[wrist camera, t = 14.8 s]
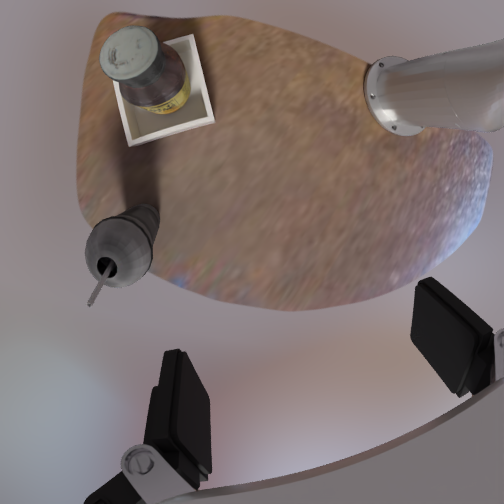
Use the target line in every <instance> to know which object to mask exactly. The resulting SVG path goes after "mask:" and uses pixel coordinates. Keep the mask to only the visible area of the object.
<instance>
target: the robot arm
mask: <svg viewBox="0 0 504 504" xmlns="http://www.w3.org/2000/svg"><path fill="white" fill-rule="evenodd" d="M364 93H365V99H366V102H367V105H368V108H369V110H370V112H371V114H372V115H373V117H374V118H375V120H376V121H377V122H378V123H379V124H380V125H381V126H382V127H383V128H385V129H386V130H387V131H389V132H391V133H393V134H396V135H400V136H412V135H415V134H418V133H419V132H421V131H422V130H424V128H425V127H437V128H449V129H460V130H469V131H477V132H495V131H497V130H500V129H501V128H503V127H504V39H501V40H498V41H494V42H491V43H487V44H482V45H478V46H473V47H468V48H463V49H458V50H453V51H448V52H443V53H439V54H434V55H430V56H426V57H423V58H418V59H414V60H411V61H408V60H406V59H403V58H401V57H396V56H389V57H384V58H381V59H379V60H377V61H376V62H375V63H373V64H372V65H371V67H370V68H369V69H368V72H367V74H366V76H365V82H364ZM370 96H371V97H370ZM492 331H493V329H492V328H491V327H490V326H489V325H488V324H487V323H486V322H485V321H484V320H483V319H482V318H480V317H479V316H478V315H477V314H476V313H475V312H474V311H472V310H471V309H470V308H469V307H468V306H467V305H466V304H464V303H463V302H462V301H461V300H459V299H458V298H457V297H456V296H455V295H454V294H453V293H451V292H450V291H449V290H448V289H447V288H445V287H444V286H443V285H441V284H440V283H439V282H438V281H437V280H435V279H434V278H432V277H428V278H425V279H423V280H420V281H419V282H418V285H417V286H416V287H415V297H414V308H413V318H412V327H411V334H410V336H411V340H412V342H413V344H414V345H415V346H416V347H417V348H418V350H419V351H420V352H421V353H422V355H423V356H424V357H425V359H426V360H427V361H428V362H429V364H430V365H431V366H432V367H433V369H434V370H435V371H436V373H437V374H438V375H439V376H440V378H441V379H442V380H443V382H444V383H445V384H446V386H447V387H448V388H449V390H450V391H451V392H452V393H456V394H457V396H458V397H459V398H460V397H462V396H464V395H465V394H467V393H468V392H469V391H470V392H471V393H472V397H471V398H470V399H468V400H466V401H465V402H463V403H462V404H460V405H458V406H457V407H455V408H454V409H452V410H450V411H448V412H447V413H445V414H443V415H441V416H440V417H438V418H436V419H434V420H432V421H430V422H428V423H427V424H425V425H423V426H421V427H419V428H417V429H415V430H413V431H411V432H409V433H407V434H404V435H402V436H400V437H398V438H396V439H394V440H391V441H389V442H387V443H384V444H382V445H380V446H377V447H375V448H372V449H370V450H367V451H365V452H362V453H359V454H357V455H354V456H351V457H348V458H345V459H342V460H339V461H336V462H333V463H330V464H326V465H323V466H320V467H316V468H313V469H310V470H305V471H302V472H298V473H294V474H289V475H285V476H281V477H277V478H272V479H266V480H262V481H256V482H250V483H245V484H238V485H232V486H224V487H218V488H212V489H205V490H198V488H199V487H200V481H208V474H211V473H212V456H211V425H210V399H209V396H208V394H207V392H206V390H205V388H204V386H203V384H202V383H201V380H200V379H199V377H198V375H197V373H196V371H195V369H194V367H193V365H192V363H191V361H190V359H189V357H188V355H187V353H186V352H181V350H180V349H174V350H169V351H165V352H164V356H163V361H162V367H161V372H160V378H159V384H158V386H155V387H153V389H152V393H151V398H150V404H149V410H148V416H147V423H146V429H145V435H144V442H143V444H140V445H135V446H133V447H131V448H129V449H128V450H127V451H126V452H125V453H124V455H123V456H122V459H121V469H122V471H121V472H120V473H119V474H117V475H116V476H115V477H114V478H112V479H111V480H109V481H108V482H107V483H106V484H104V485H103V486H102V487H100V488H99V489H98V490H96V491H95V492H93V493H92V494H91V495H89V496H88V498H86V500H85V502H84V504H504V328H503V329H500V330H499V331H497V332H496V334H493V333H492Z"/></svg>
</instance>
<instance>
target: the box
mask: <svg viewBox="0 0 504 504" xmlns="http://www.w3.org/2000/svg"><path fill="white" fill-rule="evenodd" d="M163 43H165V44H167V45H169V46H171V47H172V48H173V49H174V50H176V52H177V53H178V54H179V56H180V58H181V60H182V61H183V63H184V66H185V69H186V72H187V75H188V78H189V81H190V85H191V92H190V96H189V98H188V100H187V102H186V103H185V104H184V106H182V107H181V108H180V109H179V110H177V111H176V112H173V113H170V114H156V113H153V112H150V111H148V110H145V109H142V108H140V107H137V106H135V105H133V104H131V103H129V102H128V101H126V100H125V99H124V98H123V96H122V95H121V93H120V89H119V82H116V81H114V80H113V83H114V88H115V92H116V97H117V101H118V106H119V110H120V114H121V118H122V123H123V127H124V131H125V134H126V138H127V142H128V146H129V147H130V146H138V145H142V144H145V143H148V142H151V141H154V140H157V139H160V138H163V137H166V136H169V135H172V134H176V133H179V132H182V131H186V130H189V129H193V128H197V127H200V126H204V125H208V124H212V123H215V120H214V116H213V112H212V108H211V104H210V100H209V96H208V92H207V88H206V84H205V80H204V76H203V72H202V68H201V64H200V60H199V56H198V52H197V47H196V43H195V39H194V35H193V34H191V35H187V36H183V37H180V38H176V39H173V40H169V41H166V42H163Z"/></svg>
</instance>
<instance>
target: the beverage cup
mask: <svg viewBox="0 0 504 504" xmlns="http://www.w3.org/2000/svg"><path fill="white" fill-rule="evenodd" d="M159 224H160V217H159V213H158V212H157V210H156V209H155V208H154V207H153V206H151V205H148V204H139V205H137V206H134V207H132V208H130V209H128V210H126V211H124V212H123V213H121V214H119V215H117V216H115V217H114V216H112V217H109V218H106V219H103V220H102V221H101V222H99V223H98V224H97V225H95V227H94V229H93V230H92V232H91V234H90V236H89V238H88V240H87V243H86V249H85V258H86V263H87V266H88V269H89V271H90V273H91V274H92V275H93V277H94V278H95V279H96V280H98V281H99V282H98V284H97V286H96V288H95V289H94V291H93V293H92V295H91V297H90V299H89V300H88V302H87V307H89V308H91V307H92V305H93V303H94V301H95V299H96V297H97V295H98V294H99V292H100V290H101V288H102V286H103V285H106V286H109V287H114V288H122V287H126V286H130V285H132V284H133V283H135V282H136V281H138V280H139V279H141V277H143V276H144V275H145V274H146V272H147V271H148V270H149V268H150V266H151V262H152V259H153V244H154V241H155V238H156V235H157V231H158V228H159Z"/></svg>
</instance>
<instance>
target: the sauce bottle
mask: <svg viewBox="0 0 504 504" xmlns="http://www.w3.org/2000/svg"><path fill="white" fill-rule="evenodd" d="M99 61H100V65H101V68H102V70H103V72H104V73H105V74H106V75H107V76H108V77H109V78H111V79H112V80H114V81H116V82H119V89H120V93H121V95H122V96H123V98H124V99H125V100H126V101H128V102H129V103H131V104H133V105H135V106H137V107H140V108H142V109H145V110H148V111H150V112H153V113H156V114H170V113H173V112H176V111H177V110H179V109H180V108H181V107H182V106H184V104H185V103H186V102H187V100H188V98H189V96H190V92H191V85H190V81H189V78H188V75H187V72H186V69H185V66H184V63H183V61H182V60H181V58H180V56H179V54H178V53H177V52H176V50H174V49H173V48H172V47H171V46H169V45H167V44H165V43H163V42H159V40H158V38H157V37H156V35H155V34H154V33H153V32H152V31H151V30H150V29H148V28H146V27H143V26H127V27H124V28H122V29H120V30H118V31H117V32H115V33H114V34H112V35H111V36H110V37H109V38H108V39H107V40H106V42H105V43H104V45H103V47H102V49H101V52H100V57H99Z"/></svg>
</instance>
